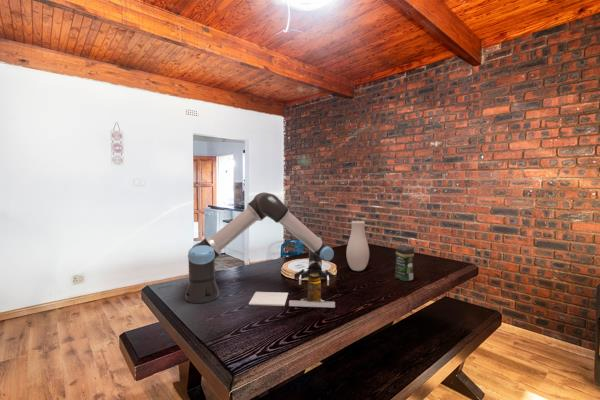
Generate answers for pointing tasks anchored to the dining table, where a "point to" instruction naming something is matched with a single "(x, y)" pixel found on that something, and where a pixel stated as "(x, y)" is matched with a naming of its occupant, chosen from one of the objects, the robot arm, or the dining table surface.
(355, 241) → the vase
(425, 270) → the dining table surface
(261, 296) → the mat
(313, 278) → the condiment
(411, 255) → the coffee jar
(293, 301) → the bar
